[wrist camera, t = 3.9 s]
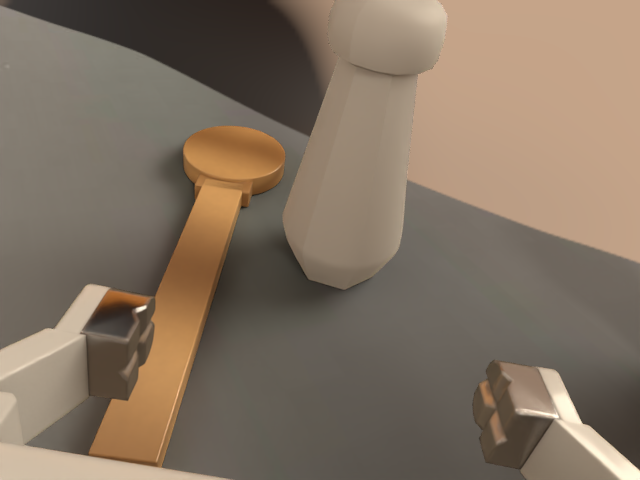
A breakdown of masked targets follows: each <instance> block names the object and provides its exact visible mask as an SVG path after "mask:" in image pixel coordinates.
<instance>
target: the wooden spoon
mask: <svg viewBox="0 0 640 480" xmlns="http://www.w3.org/2000/svg"><path fill="white" fill-rule="evenodd" d="M284 164H285V152H284V149H283V147H282V146H281V145H280V143H279V142H278V141H276V140H275V139H274V138H272V137H271V136H269V135H267V134H265V133H263V132H260V131H258V130H254V129H251V128H246V127H239V126H218V127H211V128H207V129H204V130H201V131H199V132H197V133H195V134H193V135H192V136H190V137H189V138H188V139H187V141H186V142H185V144H184V147H183V166H184V171H185V173H186V175H187V176H188V178H189V179H190V180H191V181H192V182H193V183H195V199H196V201H195V203H194V206H193V208H192V211H191V213H190V215H189V218H188V220H187V222H186V225H185V227H184V229H183V232H182V234H181V236H180V239H179V241H178V243H177V246H176V248H175V251H174V253H173V255H172V258H171V260H170V262H169V265H168V267H167V269H166V272H165V274H164V276H163V279H162V281H161V283H160V286H159V288H158V290H157V293H156V295H155V299H156V301H155V312H154V314H153V316H152V318H151V320H152V322H153V323H154V324H155V330H154V338H153V343H152V347H151V350H150V353H149V356H148V358H147V360H146V363H145V364H144V365H142V366H141V367H139V374H138V380H137V382H136V385H135V387H134V389H133V391H132V393H131V395H130V397H129V400H128V401H124V400H117V399H111V401H110V403H109V406H108V408H107V410H106V413H105V415H104V417H103V420H102V422H101V424H100V427H99V429H98V432H97V434H96V436H95V439H94V441H93V443H92V446H91V448H90V450H89V453H88V455H89V456H92V457H98V458H104V459H110V460H116V461H123V462H129V463H135V464H141V465H147V466H153V467H159V468H161V467H162V464H163V461H164V457H165V454H166V451H167V447H168V444H169V441H170V438H171V434H172V431H173V428H174V425H175V421H176V418H177V415H178V411H179V408H180V405H181V402H182V398H183V395H184V392H185V388H186V385H187V382H188V379H189V375H190V372H191V369H192V366H193V362H194V359H195V356H196V352H197V349H198V346H199V343H200V339H201V336H202V333H203V329H204V326H205V323H206V320H207V316H208V313H209V310H210V307H211V303H212V300H213V297H214V293H215V290H216V287H217V284H218V280H219V277H220V274H221V270H222V267H223V264H224V261H225V257H226V254H227V251H228V248H229V244H230V241H231V238H232V234H233V231H234V228H235V225H236V221H237V218H238V215H239V211H240V208H241V206H243V207H248V206H249V203H250V199H251V196H252V195H255V194H259V193H262V192H265V191H267V190H270V189H271V188H273V187H274V186H276V185H277V184H278V183H279V182H280V180H281V179H282V176H283V172H284Z"/></svg>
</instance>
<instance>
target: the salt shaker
mask: <svg viewBox="0 0 640 480" xmlns="http://www.w3.org/2000/svg"><path fill="white" fill-rule="evenodd" d="M447 19H448V16H447V14H446V12H445V10H444V8H443V6H442V4H441V3H440V2H438V1H437V0H334V3H333V6H332V9H331V12H330V15H329V22H328V34H327V35H328V41H329V44H330V46H331V48H332V50H333V51H334V53H335V54H337V55H338V56H339V59H338V61H337V64H336V67H335V70H334V73H333V75H332V78H331V81H330V84H329V86H328V89H327V92H326V95H325V98H324V100H323V103H322V106H321V109H320V112H319V114H318V117H317V120H316V123H315V125H314V128H313V131H312V134H311V136H310V139H309V142H308V145H307V148H306V150H305V153H304V156H303V159H302V161H301V164H300V167H299V170H298V173H297V175H296V178H295V181H294V184H293V186H292V189H291V192H290V195H289V198H288V200H287V203H286V206H285V209H284V211H283V225H284V229H285V233H286V237H287V241H288V243H289V245H290V247H291V249H292V251H293V252H294V255H295V257H296V259H297V260H298V262H299V264H300V266H301V267H302V269H303V271H304V273H305V275H306V276H307V278H308V280H312V281H315V282H319V283H322V284H326V285H329V286H332V287H336V288H339V289H343V290H345V289H347V288H349V287H352V286H354V285H356V284H358V283H360V282H363V281H365V280H367V279H369V278H371V277H373V276H374V275H375V274H376V273H377V272H378V271H379V270H380V269H381V268H382V267H383V266H384V265H385V264H386V263H387V262H388V261H389V260H390V259H391V258H392V257H393V256H394V255H395V254H396V252H397V250H398V248H399V246H400V241H401V236H402V231H403V219H404V207H405V195H406V182H407V170H408V161H409V151H410V142H411V132H412V123H413V114H414V104H415V96H416V86H417V77H418V74H420V73H422V72H425V71H427V70H430V69H432V68H433V67H434V65H435V64H436V62H437V61H438V59H439V56H440V53H441V50H442V47H443V44H444V40H445V33H446V26H447Z"/></svg>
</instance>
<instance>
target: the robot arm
mask: <svg viewBox="0 0 640 480" xmlns="http://www.w3.org/2000/svg"><path fill="white" fill-rule="evenodd" d="M155 301H156V299H155V298H154V296H149V295H145V294H140V293H135V292H130V291H125V290H121V289H116V288H109V287H104V286H100V285H95V284H88V285H86V286H85V287H84V288H83V289H82V291H81V292H80V294H79V295H78V296H77V298H76V299H75V300H74V302H73V303H72V305H71V306H70V307H69V309H68V310H67V311H66V313H65V314H64V316H63V317H62V318H61V320H60V321H59V322H58V324H57V325H56V327H55V328H54V329H49V328H46V329H44V330H42V331H40V332H37V333H35V334H33V335H31V336H29V337H27V338H24V339H22V340H20V341H18V342H16V343H13V344H11V345H9V346H7V347H5V348H3V349H0V480H232V479H226V478H220V477H214V476H208V475H202V474H196V473H190V472H183V471H177V470H171V469H165V468H159V467H153V466H147V465H141V464H135V463H129V462H123V461H116V460H110V459H104V458H98V457H92V456H86V455H80V454H74V453H68V452H62V451H56V450H49V449H43V448H37V447H31V446H25V444H26V443H28V442H29V441H30V440H32V439H33V438H35V437H36V436H37V435H39V434H40V433H41V432H43V431H44V430H46V429H47V428H48V427H50V426H51V425H52V424H54V423H55V422H56V421H58V420H59V419H61V418H62V417H63V416H65V415H66V414H67V413H69V412H70V411H71V410H73V409H74V408H76V407H77V406H78V405H80V404H81V403H82V402H84V401H85V400H86V399H88V398H89V396H96V397H103V398H110V399H117V400H124V401H128V400H129V397H130V395H131V393H132V391H133V389H134V387H135V385H136V382H137V380H138V374H139V367H141V366H142V365H144V364H145V363H146V360H147V358H148V356H149V353H150V350H151V347H152V343H153V338H154V330H155V324H154V323H153V322H152V320H151V318H152V316H153V314H154V312H155ZM486 374H487V377H488V379H486V380H484V381H483V382H481V383H479V385H478V387H477V389H476V391H475V393H474V398H473V415H474V420H475V423H476V424H477V425H478V426H479V427H480V428H481V429H482V430H483V432H482V434H481V436H480V437H479V440H480V444H481V447H482V451H483V455H484V459H485V463H490V464H495V465H500V466H505V467H510V468H515V469H520V472H521V474H522V475H523V476H524V477H525V479H526V480H640V470H639V469H637V468H636V467H635V466H634V465H633V464H632V463H631V462H630V461H628V460H627V459H626V458H625V457H624V456H623V455H622V454H620V453H619V452H618V451H617V450H616V449H615V448H614V447H613V446H611V445H610V444H609V443H608V442H607V441H606V440H605V439H604V438H602V437H601V436H600V435H599V434H598V433H597V432H596V431H595V430H593V429H592V428H591V427H590V426H589V425H585V424H582V422H581V420H580V418H579V416H578V413H577V411H576V409H575V407H574V405H573V403H572V401H571V399H570V396H569V394H568V392H567V390H566V388H565V386H564V384H563V382H562V380H561V377H560V375H559V374H558V372H556V371H555V370H553V369H547V368H541V367H535V366H534V367H532V366H527V365H522V364H516V363H510V362H505V361H499V360H493V361H492V362H491V363H490V364H489V365H488V367H487V369H486Z"/></svg>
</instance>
